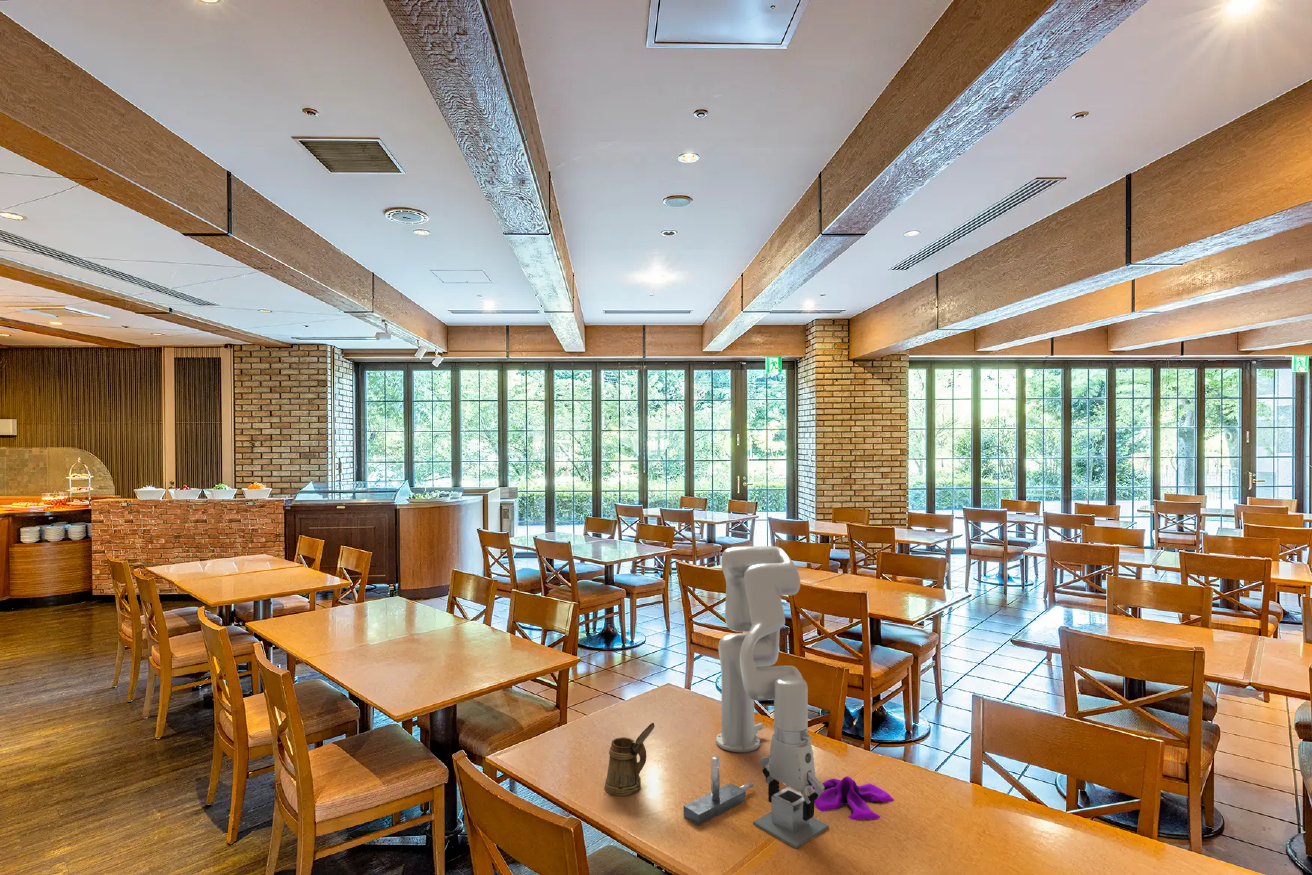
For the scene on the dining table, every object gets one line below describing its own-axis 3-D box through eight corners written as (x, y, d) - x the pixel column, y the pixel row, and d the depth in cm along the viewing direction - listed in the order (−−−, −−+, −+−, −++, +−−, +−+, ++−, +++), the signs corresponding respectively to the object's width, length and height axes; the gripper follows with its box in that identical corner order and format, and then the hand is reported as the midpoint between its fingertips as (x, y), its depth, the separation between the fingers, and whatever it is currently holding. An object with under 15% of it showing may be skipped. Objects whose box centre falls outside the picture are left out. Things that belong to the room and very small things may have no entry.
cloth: (896, 792, 163) (896, 767, 163) (887, 831, 146) (887, 803, 146) (807, 772, 172) (807, 749, 173) (789, 806, 156) (789, 781, 156)
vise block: (744, 786, 164) (744, 738, 164) (759, 794, 160) (759, 745, 161) (683, 816, 150) (683, 764, 151) (698, 825, 147) (698, 772, 147)
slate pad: (786, 805, 155) (786, 802, 155) (828, 827, 146) (828, 824, 146) (753, 824, 147) (753, 821, 147) (795, 848, 138) (795, 845, 138)
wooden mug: (643, 805, 155) (644, 729, 156) (597, 789, 162) (598, 717, 162) (662, 788, 163) (662, 716, 163) (617, 774, 170) (618, 705, 170)
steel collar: (787, 812, 151) (787, 786, 151) (809, 823, 147) (809, 797, 147) (771, 822, 147) (771, 795, 147) (792, 834, 143) (793, 806, 143)
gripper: (832, 741, 143) (832, 819, 143) (771, 716, 156) (771, 788, 156) (812, 751, 138) (812, 832, 138) (750, 725, 151) (750, 799, 151)
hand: (790, 808), depth 147 cm, fingers open, 9 cm apart
